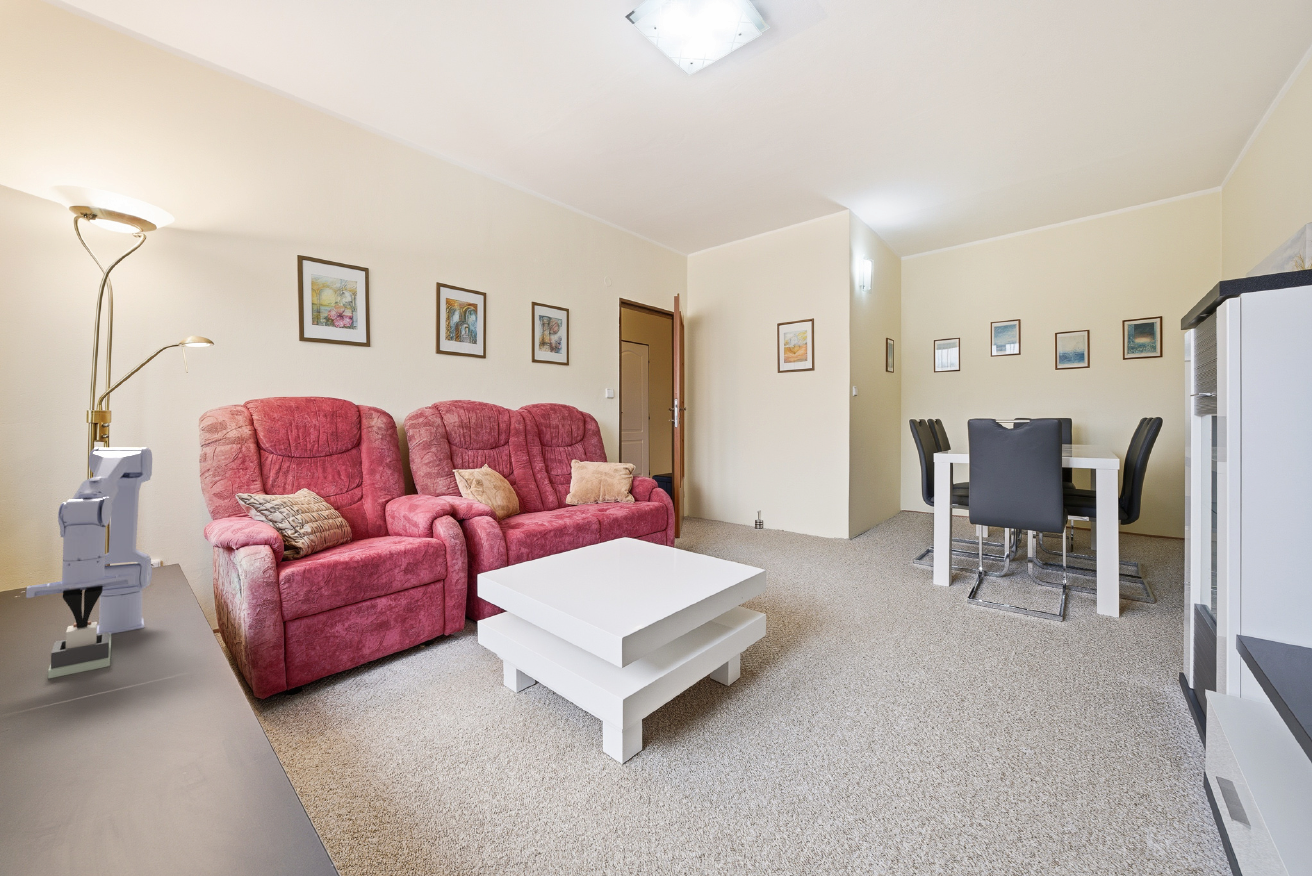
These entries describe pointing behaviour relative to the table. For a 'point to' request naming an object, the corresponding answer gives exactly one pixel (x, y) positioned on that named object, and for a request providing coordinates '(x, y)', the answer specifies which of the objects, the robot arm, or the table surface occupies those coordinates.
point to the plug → (81, 635)
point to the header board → (80, 657)
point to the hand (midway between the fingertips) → (82, 626)
